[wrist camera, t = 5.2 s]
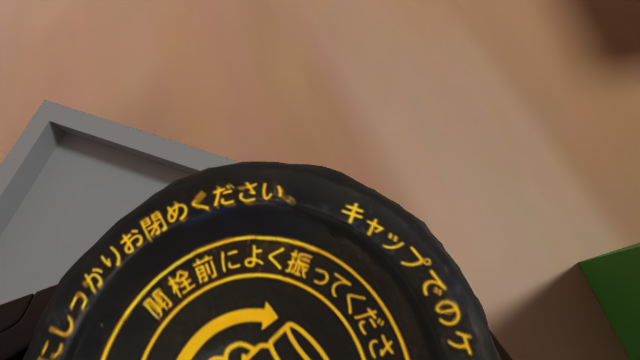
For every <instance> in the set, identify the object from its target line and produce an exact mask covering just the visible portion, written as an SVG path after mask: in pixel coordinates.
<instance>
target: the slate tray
mask: <svg viewBox="0 0 640 360" xmlns="http://www.w3.org/2000/svg"><path fill="white" fill-rule="evenodd" d="M235 163H240V162H238V161H234V160H231V159H228V158H225V157H222V156H219V155H216V154H213V153H209V152H206V151H203V150H200V149H197V148H194V147H191V146H187V145H184V144H181V143H178V142H175V141H172V140H169V139H166V138H162V137H159V136H156V135H153V134H150V133H147V132H144V131H141V130H137V129H134V128H131V127H128V126H125V125H122V124H119V123H115V122H112V121H109V120H106V119H103V118H100V117H97V116H94V115H90V114H87V113H84V112H81V111H78V110H75V109H72V108H69V107H65V106H62V105H59V104H56V103H53V102H50V101H47V100H44V101H43V103H42V104H41V106H40V107H39V109H38V110H37V112H36V113H35V115H34V116H33V118H32V119H31V121H30V122H29V124H28V125H27V127H26V128H25V130H24V131H23V133H22V134H21V136H20V137H19V139H18V140H17V142H16V143H15V145H14V146H13V148H12V149H11V151H10V152H9V154H8V155H7V157H6V158H5V160H4V161H3V163H2V164H1V166H0V305H1V304H4V303H7V302H9V301H12V300H15V299H18V298H20V297H23V296H26V295H29V294H31V293H33V294H35V293H36V292H37V291H40V290H42V289H45V288H48V287H51V286H53V285H56V284H58V283H59V281H60V280H61V278H62V277H63V276H64V275H65V273H66V272H67V271H68V270H69V269H70V268H71V266H72V265H73V264H74V263H75V262H76V261H77V260H78V259H79V258H80V257H81V256H82V255H83V254H84V253H85V252H86V251H88V250H89V249H90V248H91V247H92V246H93V245H94V244H95V243H96V242H97V241H98V240H99V239H100V238H101V237H102V236H103V235H104V234H105V233H106V232H107V231H108V230H109V229H110V228H111V227H112V226H113V225H114V224H115V223H116V222H117V221H118V220H120V219H121V218H123V217H124V216H125V215H127V214H128V213H130V212H131V211H132V210H134V209H135V208H137V207H138V206H139V205H141V204H142V203H143V202H145V201H146V200H147V199H148V198H150V197H151V196H152V195H153V194H155V193H156V192H158V191H160V190H162V189H163V188H165V187H166V186H168V185H169V184H170V183H172V182H173V181H174V180H177V179H180V178H183V177H186V176H189V175H191V174H194V173H196V172H199V171H201V170H204V169H206V168H209V167H218V166H223V165H229V164H235Z"/></svg>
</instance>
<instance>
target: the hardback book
mask: <svg viewBox="0 0 640 360" xmlns="http://www.w3.org/2000/svg"><path fill="white" fill-rule="evenodd" d="M578 263H579V265H580V267H581V269H582V271H583V273H584V275H585V277H586V278H587V280H588V282H589V284H590V286H591V288H592V290H593V292H594V293H595V295H596V297H597V299H598V301H599V303H600V305H601V306H602V308H603V310H604V312H605V314H606V316H607V318H608V320H609V321H610V323H611V325H612V327H613V329H614V331H615V333H616V335H617V336H618V338H619V340H620V342H621V344H622V346H623V348H624V350H625V351H626V353H627V355H628V357H629V359H630V360H640V243H637V244H634V245H631V246H628V247H625V248H622V249H619V250H616V251H613V252H609V253H606V254H603V255H600V256H597V257H594V258H591V259H588V260H584V261H581V262H578Z"/></svg>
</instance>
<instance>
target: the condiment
mask: <svg viewBox="0 0 640 360" xmlns="http://www.w3.org/2000/svg"><path fill="white" fill-rule="evenodd" d="M23 360H501V358H500V356H499V353H498V351H497V349H496V347H495V345H494V343H493V340H492V337H491V334H490V332H489V328H488V324H487V320H486V315H485V312H484V309H483V307H482V305H481V303H480V301H479V299H478V298H477V297H476V296H475V294H474V293H473V291H472V289H471V287H470V285H469V284H468V282H467V280H466V278H465V277H464V275H463V274H462V272H461V270H460V268H459V266H458V265H457V264H456V263H455V261H454V260H453V259H452V258H451V256H450V255H449V254H448V253H447V252H446V250H445V249H444V247H443V245H442V243H441V242H439V241H438V239H437V238H436V237H435V236H434V235H433V234H432V233H431V232H430V230H429V229H428V227H427V226H426V224H425V223H424V222H423V221H421V220H419V219H418V218H417V217H415V216H414V215H412V214H411V213H409V212H408V211H406V210H405V209H403V208H402V207H401V206H400V205H399V204H397V203H395V202H394V201H392V200H390V199H388V198H387V197H385V196H383V195H382V194H380V193H378V192H377V191H375V190H374V189H371V188H369V187H367V186H365V185H363V184H361V183H359V182H357V181H356V180H354V179H352V178H351V177H349V176H347V175H345V174H343V173H341V172H339V171H336V170H333V169H330V168H326V167H323V166H316V165H308V164H286V163H279V162H240V163H235V164H229V165H223V166H218V167H209V168H206V169H204V170H201V171H199V172H196V173H194V174H191V175H189V176H186V177H183V178H180V179H177V180H174V181H173V182H172V183H170V184H169V185H168V186H166V187H165V188H163V189H162V190H160V191H158V192H156V193H155V194H153V195H152V196H151V197H150V198H148V199H147V200H146V201H145V202H143V203H142V204H141V205H139V206H138V207H137V208H135V209H134V210H132V211H131V212H130V213H128V214H127V215H125V216H124V217H123V218H121V219H120V220H118V221H117V222H116V223H115V224H114V225H113V226H112V227H111V228H110V229H109V230H108V231H107V232H106V233H105V234H104V235H103V236H102V237H101V238H100V239H99V240H98V241H97V242H96V243H95V244H94V245H93V246H92V247H91V248H90V249H89V250H88V251H86V252H85V253H84V254H83V255H82V256H81V257H80V258H79V259H78V260H77V261H76V262H75V263H74V264H73V265H72V266H71V268H70V269H69V270H68V271H67V272H66V273H65V275H64V276H63V277H62V278H61V280H60V281H59V283H58V285H57V287H56V289H55V291H54V293H53V295H52V296H51V298H50V300H49V302H48V304H47V306H46V308H45V310H44V312H43V313H42V315H41V317H40V319H39V321H38V323H37V325H36V327H35V330H34V334H33V337H32V340H31V343H30V345H29V347H28V349H27V351H26V353H25V356H24V358H23Z"/></svg>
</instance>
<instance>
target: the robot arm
mask: <svg viewBox="0 0 640 360" xmlns="http://www.w3.org/2000/svg"><path fill="white" fill-rule="evenodd" d="M57 285H58V284H56V285H53V286H51V287H48V288H45V289H42V290H40V291H37V292H36V293H35V294H33V293H31V294H29V295H26V296H23V297H20V298H18V299H15V300H12V301H9V302H7V303H4V304H1V305H0V360H23V358H24V356H25V353H26V351H27V349H28V347H29V345H30V343H31V340H32V337H33V334H34V330H35V327H36V325H37V323H38V321H39V319H40V317H41V315H42V313H43V312H44V310H45V308H46V306H47V304H48V302H49V300H50V298H51V296H52V295H53V293H54V291H55V289H56V287H57ZM489 332H490V334H491V337H492V340H493V343H494V345H495V347H496V349H497V351H498V353H499V356H500V358H501V360H512V358H511V357H510V356H509V354H508V353H507V352H506V350H505V349H504V348H503V347H502V345H501V344H500V343H499V341H498V340H497V339H496V337H495V336H494V335H493V333H492V332H491V331H490V330H489Z"/></svg>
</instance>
